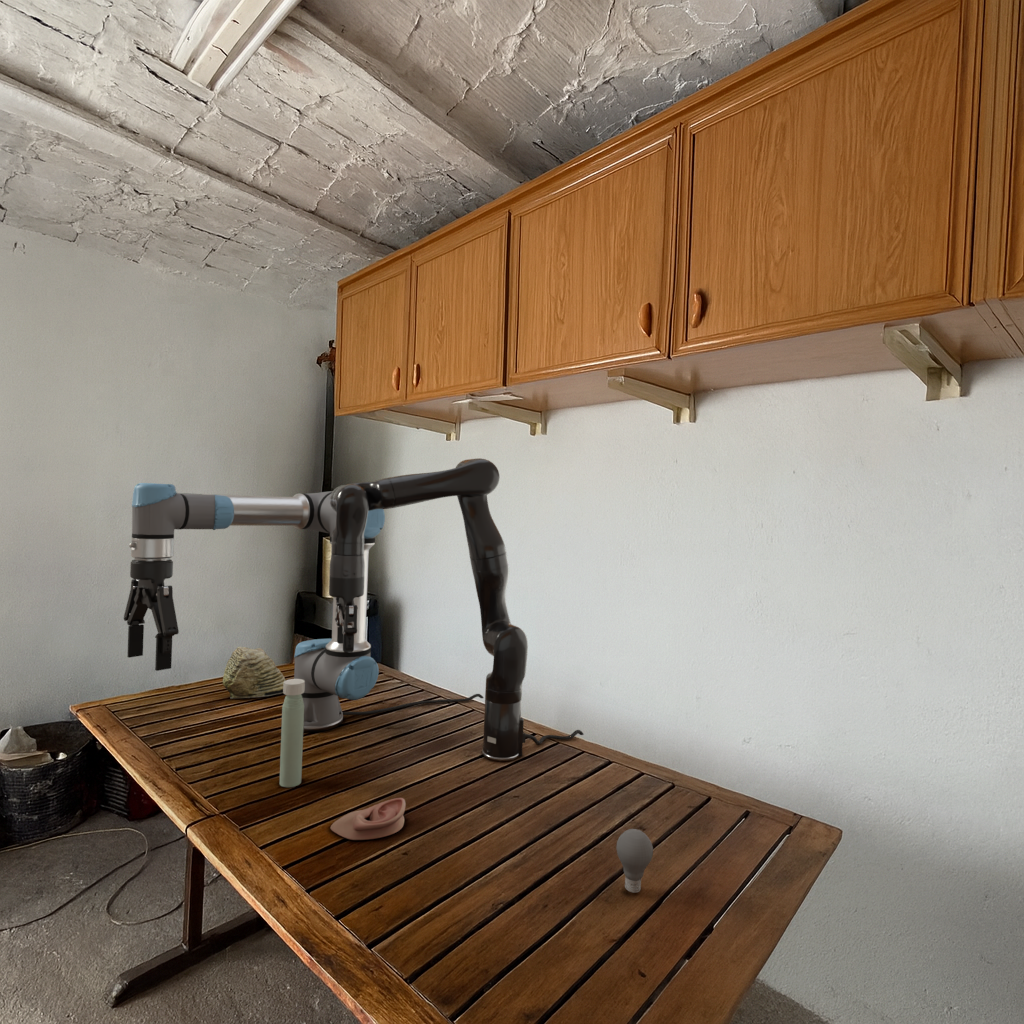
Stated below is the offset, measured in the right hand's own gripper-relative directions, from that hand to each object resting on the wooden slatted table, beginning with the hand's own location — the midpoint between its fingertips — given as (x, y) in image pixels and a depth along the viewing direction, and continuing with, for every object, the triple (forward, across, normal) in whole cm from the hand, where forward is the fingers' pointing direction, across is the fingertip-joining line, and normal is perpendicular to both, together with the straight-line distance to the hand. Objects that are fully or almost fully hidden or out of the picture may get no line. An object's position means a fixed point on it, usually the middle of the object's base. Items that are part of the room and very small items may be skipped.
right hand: (345, 647), depth 140 cm
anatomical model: (+30, -21, -2) cm, 37 cm away
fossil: (+30, +69, +16) cm, 77 cm away
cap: (+8, +3, +10) cm, 13 cm away
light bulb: (+31, -56, -39) cm, 75 cm away
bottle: (+30, +3, +10) cm, 32 cm away
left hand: (+2, +4, +38) cm, 39 cm away
